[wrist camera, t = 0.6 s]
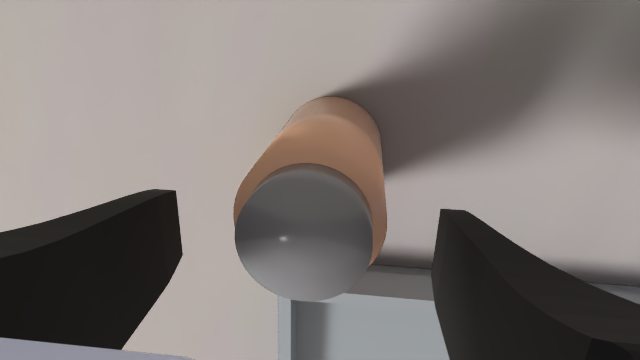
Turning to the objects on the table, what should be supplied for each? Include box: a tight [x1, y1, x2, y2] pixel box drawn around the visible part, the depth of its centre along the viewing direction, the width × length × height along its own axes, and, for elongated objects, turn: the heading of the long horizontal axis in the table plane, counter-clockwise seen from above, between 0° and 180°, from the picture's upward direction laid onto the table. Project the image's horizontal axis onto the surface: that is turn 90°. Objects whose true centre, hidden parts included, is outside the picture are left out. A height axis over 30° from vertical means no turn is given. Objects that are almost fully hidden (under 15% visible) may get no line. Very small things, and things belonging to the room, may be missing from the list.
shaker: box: [234, 97, 387, 302], centre depth 15 cm, size 4×4×9 cm
